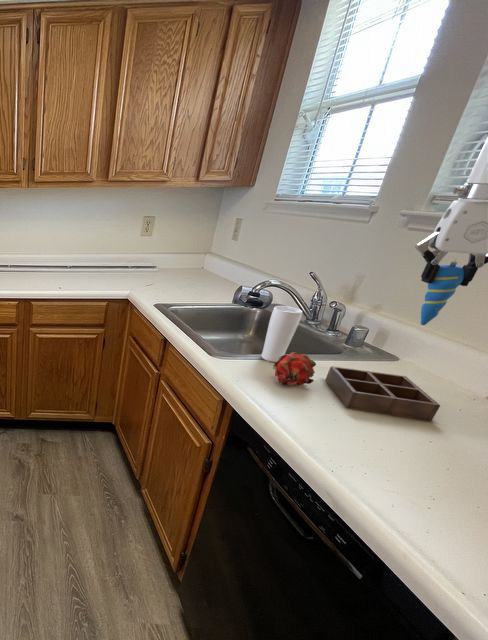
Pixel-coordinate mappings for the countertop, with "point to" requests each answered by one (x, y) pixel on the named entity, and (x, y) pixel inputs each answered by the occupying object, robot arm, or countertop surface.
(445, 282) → the ornament
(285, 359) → the dragon fruit
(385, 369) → the countertop surface
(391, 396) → the divided tray
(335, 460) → the countertop surface
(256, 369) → the countertop surface
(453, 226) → the robot arm
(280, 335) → the drinking glass
